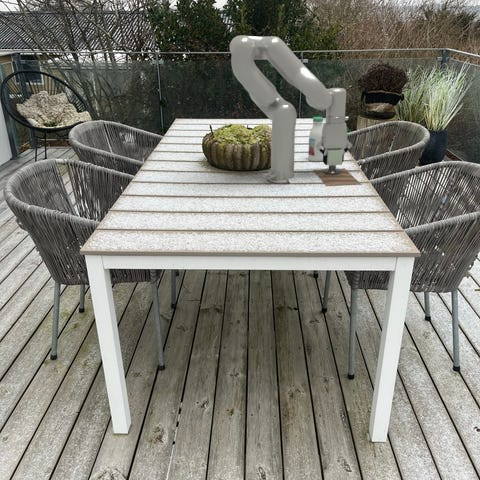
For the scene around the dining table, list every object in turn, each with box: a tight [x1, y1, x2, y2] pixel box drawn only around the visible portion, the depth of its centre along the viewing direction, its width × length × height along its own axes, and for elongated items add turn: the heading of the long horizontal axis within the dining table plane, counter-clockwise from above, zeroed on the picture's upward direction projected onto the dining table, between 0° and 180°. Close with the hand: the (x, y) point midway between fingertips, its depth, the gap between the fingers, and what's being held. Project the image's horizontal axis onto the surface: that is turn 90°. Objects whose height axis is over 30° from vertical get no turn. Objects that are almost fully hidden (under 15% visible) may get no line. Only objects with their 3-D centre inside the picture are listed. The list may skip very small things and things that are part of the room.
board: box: [312, 165, 362, 187], centre depth 191 cm, size 24×14×10 cm, turn 4°
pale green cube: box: [326, 148, 343, 166], centre depth 196 cm, size 6×6×6 cm
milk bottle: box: [308, 116, 324, 162], centre depth 221 cm, size 8×8×20 cm
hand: (333, 163), depth 197 cm, fingers closed on pale green cube, 5 cm apart
